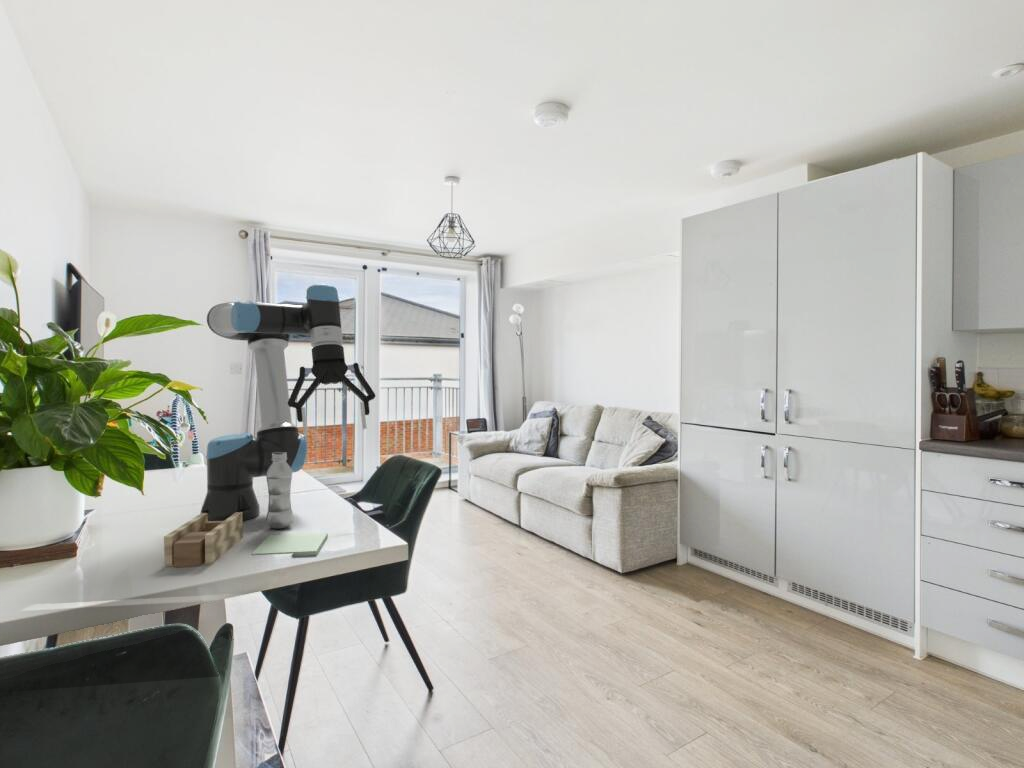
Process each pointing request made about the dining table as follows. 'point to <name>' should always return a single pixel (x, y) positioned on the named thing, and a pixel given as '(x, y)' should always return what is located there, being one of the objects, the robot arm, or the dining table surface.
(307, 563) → the dining table surface
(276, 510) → the plastic bottle
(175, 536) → the oak rack
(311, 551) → the green pad
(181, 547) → the walnut block
